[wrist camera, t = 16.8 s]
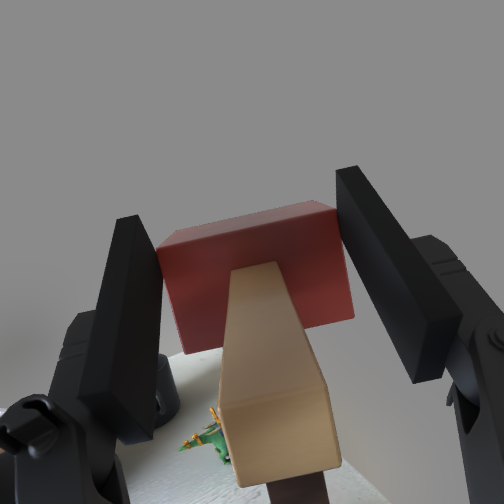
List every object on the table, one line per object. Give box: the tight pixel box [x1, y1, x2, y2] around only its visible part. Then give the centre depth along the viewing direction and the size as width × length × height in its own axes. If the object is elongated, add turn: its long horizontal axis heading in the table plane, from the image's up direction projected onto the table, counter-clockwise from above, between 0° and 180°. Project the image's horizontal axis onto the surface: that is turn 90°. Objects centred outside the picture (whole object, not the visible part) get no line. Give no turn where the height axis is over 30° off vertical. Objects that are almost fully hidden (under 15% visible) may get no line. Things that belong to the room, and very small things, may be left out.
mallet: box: [155, 200, 355, 488], centre depth 12 cm, size 7×13×4 cm, turn 2°
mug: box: [154, 354, 180, 429], centre depth 63 cm, size 9×12×9 cm
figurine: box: [178, 407, 232, 465], centre depth 50 cm, size 3×12×8 cm, turn 116°
